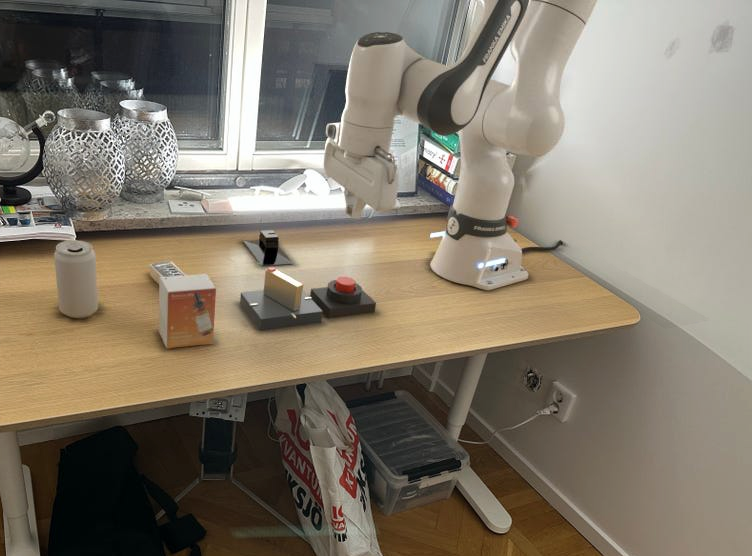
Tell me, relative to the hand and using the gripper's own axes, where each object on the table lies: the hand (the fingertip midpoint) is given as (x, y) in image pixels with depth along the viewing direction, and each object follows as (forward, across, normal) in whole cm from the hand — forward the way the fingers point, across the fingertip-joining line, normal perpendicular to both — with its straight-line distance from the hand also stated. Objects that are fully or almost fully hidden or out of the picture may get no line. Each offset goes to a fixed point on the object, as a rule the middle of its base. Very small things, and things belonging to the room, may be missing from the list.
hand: (352, 216), depth 119 cm
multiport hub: (+17, +13, +30) cm, 37 cm away
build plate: (+17, +22, +6) cm, 29 cm away
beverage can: (+17, +7, +48) cm, 51 cm away
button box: (+17, -2, +1) cm, 17 cm away
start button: (+14, -2, +1) cm, 14 cm away
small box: (+17, -6, +33) cm, 38 cm away
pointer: (+14, -2, +14) cm, 20 cm away
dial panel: (+17, -2, +14) cm, 22 cm away
